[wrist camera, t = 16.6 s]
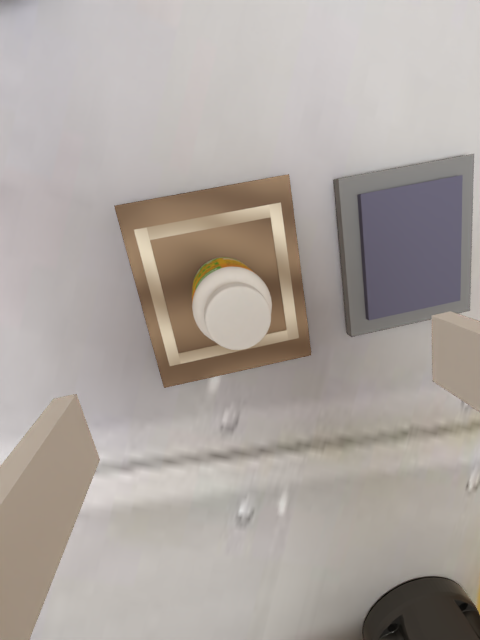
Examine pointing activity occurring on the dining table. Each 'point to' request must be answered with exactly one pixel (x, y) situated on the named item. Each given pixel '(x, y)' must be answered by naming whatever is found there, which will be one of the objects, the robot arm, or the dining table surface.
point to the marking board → (202, 246)
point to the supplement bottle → (231, 303)
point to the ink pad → (405, 243)
